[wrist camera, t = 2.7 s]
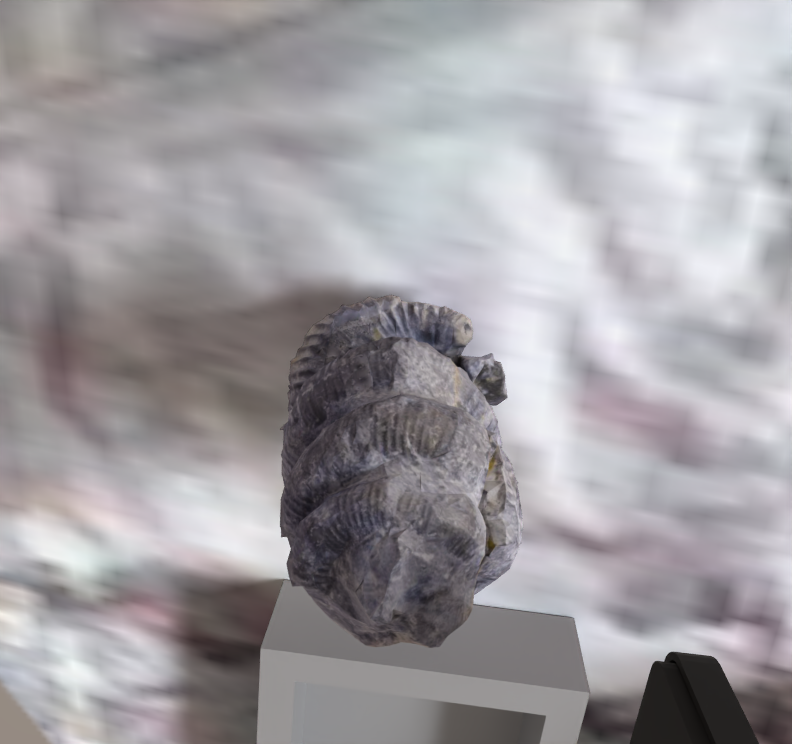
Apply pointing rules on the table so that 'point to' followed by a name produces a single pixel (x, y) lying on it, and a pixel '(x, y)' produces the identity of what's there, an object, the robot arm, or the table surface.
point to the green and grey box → (420, 681)
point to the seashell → (396, 472)
